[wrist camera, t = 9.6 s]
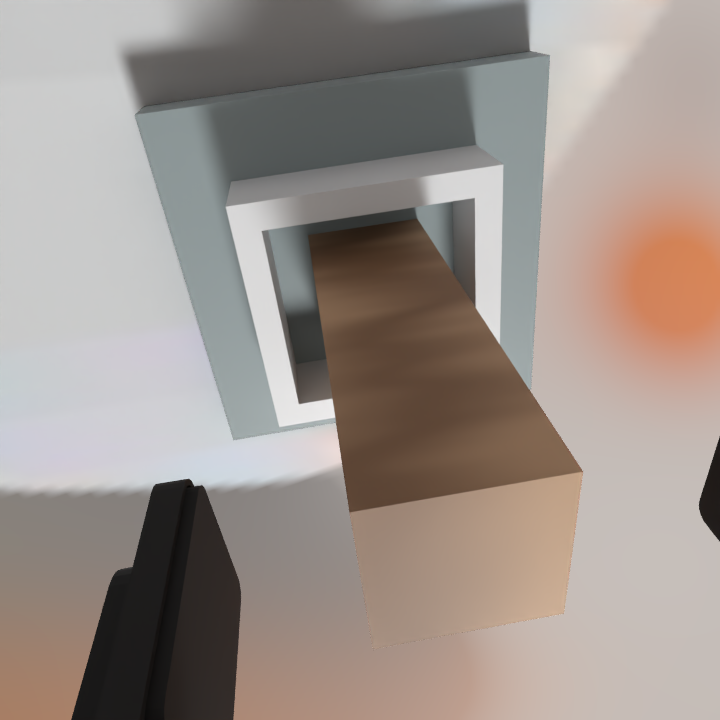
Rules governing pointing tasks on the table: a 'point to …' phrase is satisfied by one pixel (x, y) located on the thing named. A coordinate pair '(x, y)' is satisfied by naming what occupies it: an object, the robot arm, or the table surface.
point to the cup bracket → (347, 210)
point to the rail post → (438, 445)
